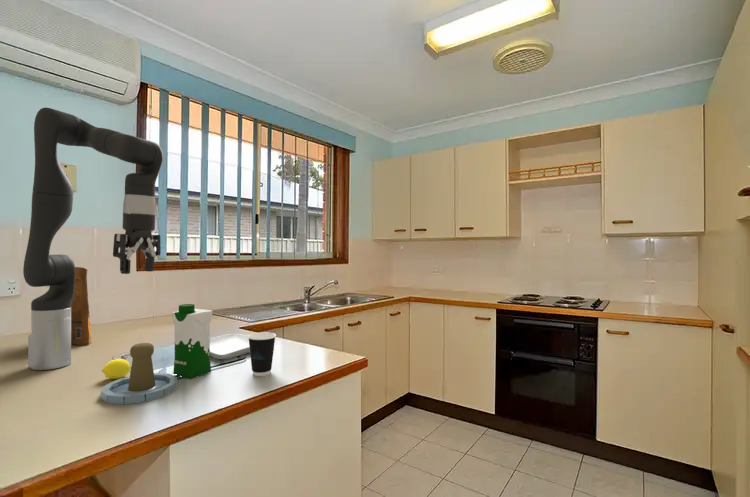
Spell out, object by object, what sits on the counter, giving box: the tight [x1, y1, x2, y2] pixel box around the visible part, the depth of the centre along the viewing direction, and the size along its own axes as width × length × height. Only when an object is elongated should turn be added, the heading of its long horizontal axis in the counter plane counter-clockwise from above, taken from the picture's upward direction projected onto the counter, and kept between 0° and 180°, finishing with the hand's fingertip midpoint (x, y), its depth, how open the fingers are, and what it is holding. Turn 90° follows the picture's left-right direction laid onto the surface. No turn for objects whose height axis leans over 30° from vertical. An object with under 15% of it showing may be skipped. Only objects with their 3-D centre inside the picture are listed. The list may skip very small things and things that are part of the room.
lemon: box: [101, 358, 132, 380], centre depth 106 cm, size 7×5×5 cm
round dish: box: [100, 372, 178, 405], centre depth 98 cm, size 16×16×2 cm
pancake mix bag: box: [71, 266, 93, 346], centre depth 143 cm, size 7×19×28 cm, turn 56°
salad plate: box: [210, 333, 250, 360], centre depth 135 cm, size 21×21×3 cm
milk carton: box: [171, 303, 214, 380], centre depth 111 cm, size 9×9×20 cm
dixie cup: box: [247, 331, 277, 377], centre depth 112 cm, size 8×8×11 cm
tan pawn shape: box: [128, 342, 156, 392], centre depth 98 cm, size 6×6×11 cm
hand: (137, 272), depth 105 cm, fingers open, 8 cm apart
